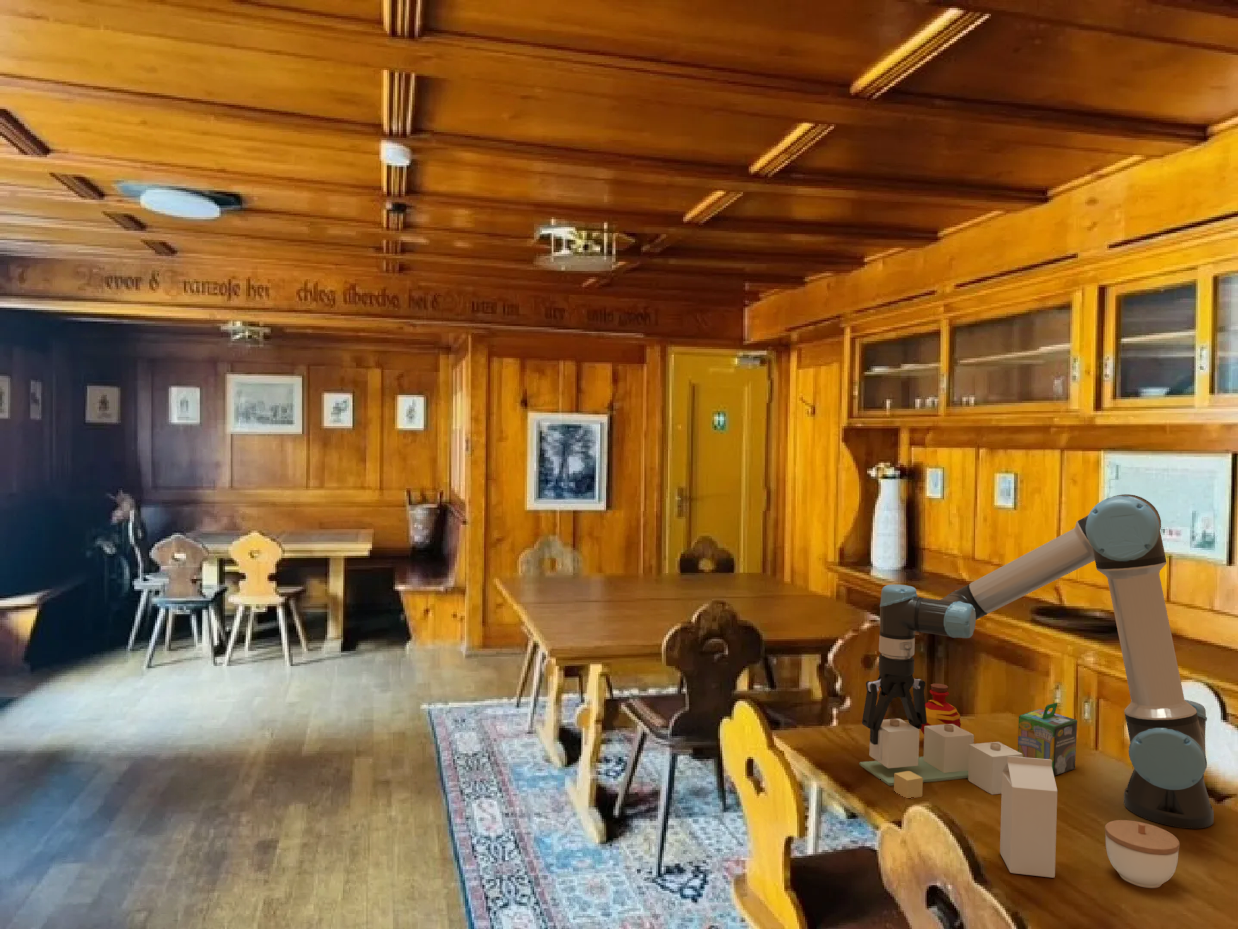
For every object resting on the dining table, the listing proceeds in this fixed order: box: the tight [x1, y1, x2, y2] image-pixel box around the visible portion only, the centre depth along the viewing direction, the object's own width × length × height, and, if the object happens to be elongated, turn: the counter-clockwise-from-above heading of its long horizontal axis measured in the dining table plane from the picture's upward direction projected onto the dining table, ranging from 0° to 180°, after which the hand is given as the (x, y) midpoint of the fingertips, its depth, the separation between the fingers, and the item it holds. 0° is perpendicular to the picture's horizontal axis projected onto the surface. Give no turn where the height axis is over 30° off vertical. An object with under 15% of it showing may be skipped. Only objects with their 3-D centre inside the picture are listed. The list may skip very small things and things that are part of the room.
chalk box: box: [1017, 702, 1078, 777], centre depth 192 cm, size 9×9×15 cm
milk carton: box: [999, 756, 1058, 878], centre depth 145 cm, size 7×7×19 cm
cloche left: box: [868, 718, 920, 768], centre depth 186 cm, size 8×8×9 cm
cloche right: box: [967, 741, 1023, 795], centre depth 180 cm, size 8×8×9 cm
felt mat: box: [859, 756, 968, 787], centre depth 188 cm, size 12×24×1 cm, turn 105°
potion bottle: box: [919, 683, 962, 735], centre depth 203 cm, size 10×10×15 cm
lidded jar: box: [1104, 819, 1181, 889], centre depth 142 cm, size 11×11×9 cm
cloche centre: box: [923, 724, 975, 773], centre depth 190 cm, size 8×8×9 cm
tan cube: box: [893, 771, 924, 799], centre depth 175 cm, size 4×4×4 cm
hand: (893, 756), depth 186 cm, fingers closed on cloche left, 7 cm apart
